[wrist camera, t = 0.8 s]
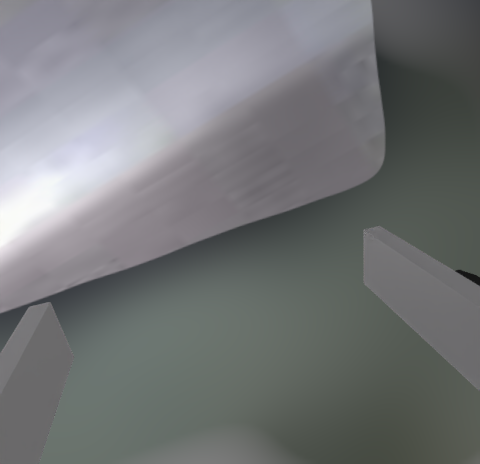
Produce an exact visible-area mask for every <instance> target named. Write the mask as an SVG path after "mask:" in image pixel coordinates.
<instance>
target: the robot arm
mask: <svg viewBox="0 0 480 464" xmlns="http://www.w3.org/2000/svg"><path fill="white" fill-rule="evenodd" d="M364 284H365V285H366V286H367V287H368V288H369V289H370V290H372V291H373V292H374V293H375V294H376V295H377V296H378V297H379V298H380V299H381V300H382V301H383V302H384V303H386V304H387V305H388V306H389V307H390V308H391V309H392V310H393V311H394V312H395V313H396V314H397V315H398V316H400V317H401V318H402V319H403V320H404V321H405V322H406V323H407V324H408V325H409V326H410V327H411V328H412V329H413V330H415V331H416V332H417V333H418V334H419V335H420V336H421V337H422V338H423V339H424V340H425V341H426V342H428V343H429V344H430V345H431V346H432V347H433V348H434V349H435V350H436V351H437V352H438V353H439V354H440V355H441V356H442V357H444V358H445V359H446V360H447V361H448V362H449V363H450V364H451V365H452V366H453V367H454V368H455V369H457V370H458V371H459V372H460V373H461V374H462V375H463V376H464V377H465V378H466V379H467V380H468V381H469V382H471V383H472V384H473V385H474V386H475V387H476V388H477V389H478V390H479V391H480V277H478V276H476V275H474V274H470V273H468V272H465V271H461V270H457V271H454V270H452V269H450V268H449V267H447V266H445V265H444V264H442V263H440V262H439V261H437V260H435V259H434V258H432V257H430V256H429V255H427V254H425V253H424V252H422V251H420V250H419V249H417V248H415V247H414V246H412V245H410V244H409V243H407V242H405V241H404V240H402V239H400V238H399V237H397V236H395V235H394V234H392V233H390V232H389V231H387V230H386V229H384V228H382V227H380V226H378V227H373V228H369V229H364ZM73 359H74V356H73V353H72V351H71V349H70V346H69V344H68V342H67V340H66V337H65V335H64V333H63V331H62V328H61V326H60V323H59V321H58V319H57V317H56V314H55V312H54V310H53V307H52V305H51V303H50V302H48V303H44V304H40V305H35V306H31V307H29V308H28V310H27V311H26V313H25V314H24V316H23V318H22V319H21V321H20V323H19V324H18V326H17V327H16V329H15V331H14V332H13V334H12V335H11V337H10V339H9V340H8V342H7V343H6V345H5V347H4V348H3V350H2V352H1V353H0V464H39V461H40V458H41V455H42V452H43V449H44V446H45V443H46V440H47V437H48V434H49V431H50V428H51V425H52V422H53V419H54V416H55V413H56V410H57V407H58V404H59V400H60V398H61V395H62V392H63V389H64V386H65V383H66V379H67V377H68V374H69V371H70V368H71V365H72V362H73Z"/></svg>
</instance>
